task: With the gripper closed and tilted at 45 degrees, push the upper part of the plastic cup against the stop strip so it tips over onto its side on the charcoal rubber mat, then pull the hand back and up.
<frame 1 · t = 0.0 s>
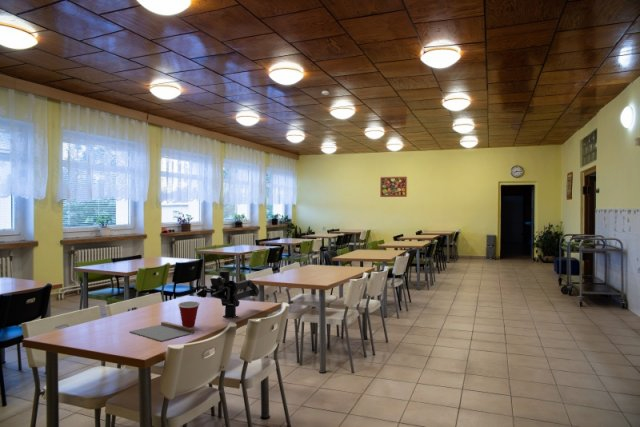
hand: (204, 294, 228), 17 cm above the table, tool horizontal, fingers open, 9 cm apart
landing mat: (160, 333, 215), on the table
plastic cup: (188, 326, 228), on the table
stop strip: (177, 329, 223), on the table
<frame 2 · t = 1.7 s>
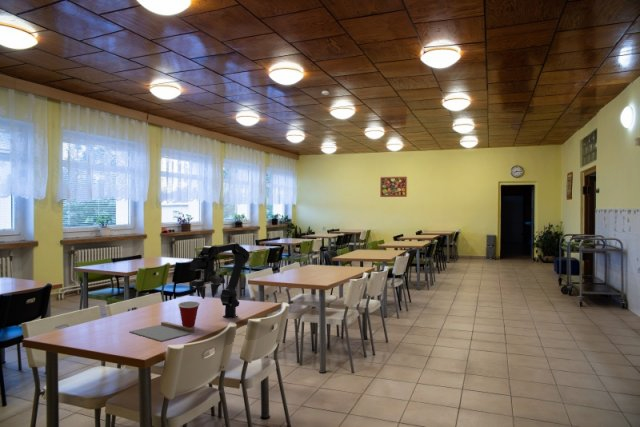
hand: (208, 297, 238), 13 cm above the table, tool pointing down, fingers open, 6 cm apart
nothing on the table moved.
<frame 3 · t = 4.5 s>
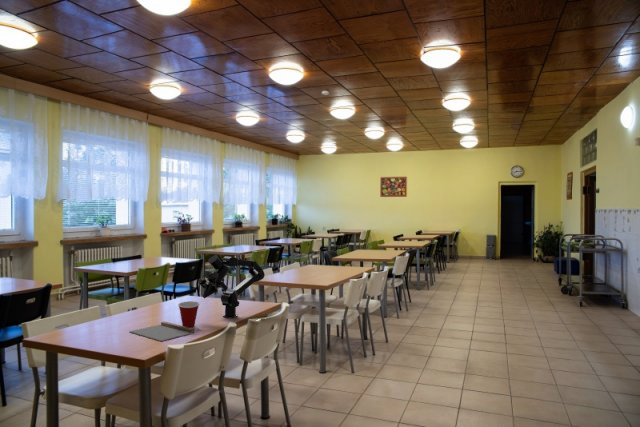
hand: (203, 297, 236), 14 cm above the table, tool tilted 45°, fingers closed
nothing on the table moved.
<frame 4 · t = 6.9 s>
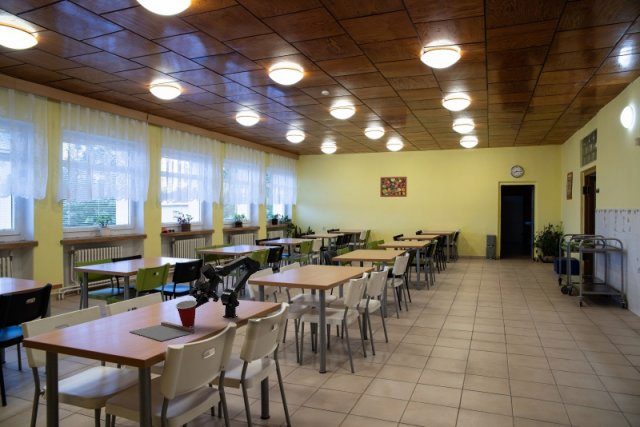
hand: (194, 307, 231), 9 cm above the table, tool tilted 45°, fingers closed
plastic cup: (188, 326, 228), on the table, touching gripper
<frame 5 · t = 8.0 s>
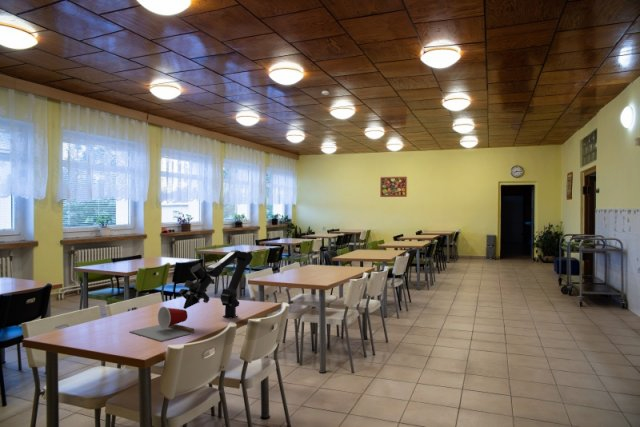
hand: (184, 308, 226), 10 cm above the table, tool tilted 45°, fingers closed, pressing on plastic cup
plastic cup: (185, 315, 227), point 6 cm above the table, touching gripper, stop strip
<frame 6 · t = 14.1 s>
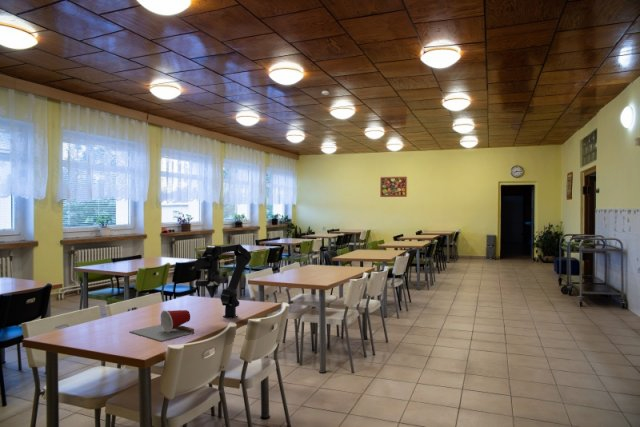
hand: (212, 297, 240), 13 cm above the table, tool pointing down, fingers closed
plastic cup: (187, 316, 224), point 6 cm above the table, touching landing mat, stop strip
at the end: plastic cup tilted 93°; plastic cup 5.2 cm from the stop strip (horizontally) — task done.
